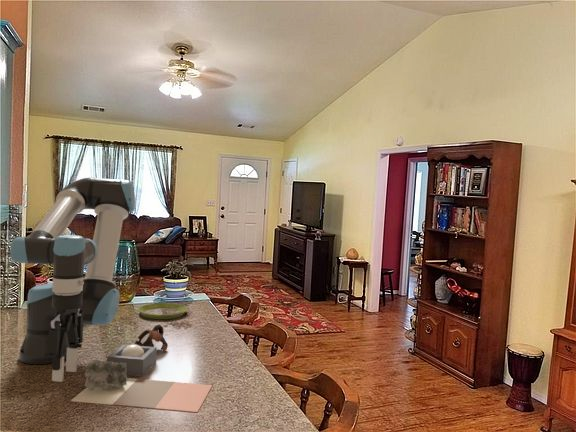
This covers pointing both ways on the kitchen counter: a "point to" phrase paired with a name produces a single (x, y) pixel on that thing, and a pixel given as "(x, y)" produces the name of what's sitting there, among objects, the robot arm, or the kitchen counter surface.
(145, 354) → the housing
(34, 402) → the kitchen counter surface
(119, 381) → the egg carton
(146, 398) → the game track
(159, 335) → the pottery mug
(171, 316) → the saucer
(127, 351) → the cream ball
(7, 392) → the kitchen counter surface
